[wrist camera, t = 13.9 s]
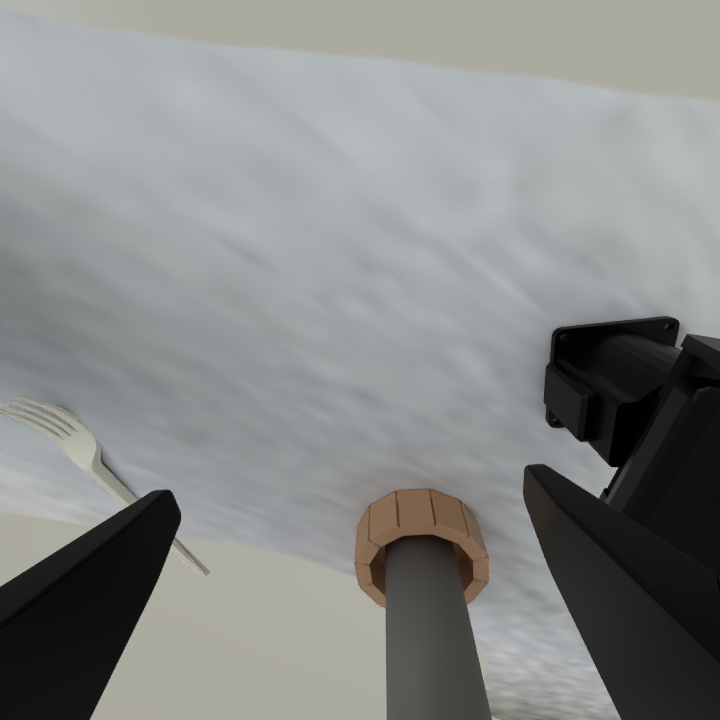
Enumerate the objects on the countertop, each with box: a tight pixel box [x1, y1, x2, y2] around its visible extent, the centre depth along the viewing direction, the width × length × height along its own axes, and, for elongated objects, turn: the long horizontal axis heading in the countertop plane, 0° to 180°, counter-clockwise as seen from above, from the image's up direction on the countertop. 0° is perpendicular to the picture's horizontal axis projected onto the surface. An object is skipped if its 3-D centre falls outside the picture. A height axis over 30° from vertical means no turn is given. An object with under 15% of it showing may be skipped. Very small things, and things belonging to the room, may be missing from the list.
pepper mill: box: [385, 534, 492, 720], centre depth 20 cm, size 5×5×13 cm
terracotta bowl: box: [355, 489, 489, 608], centre depth 25 cm, size 9×9×3 cm
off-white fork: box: [0, 396, 210, 578], centre depth 26 cm, size 3×20×2 cm, turn 28°
